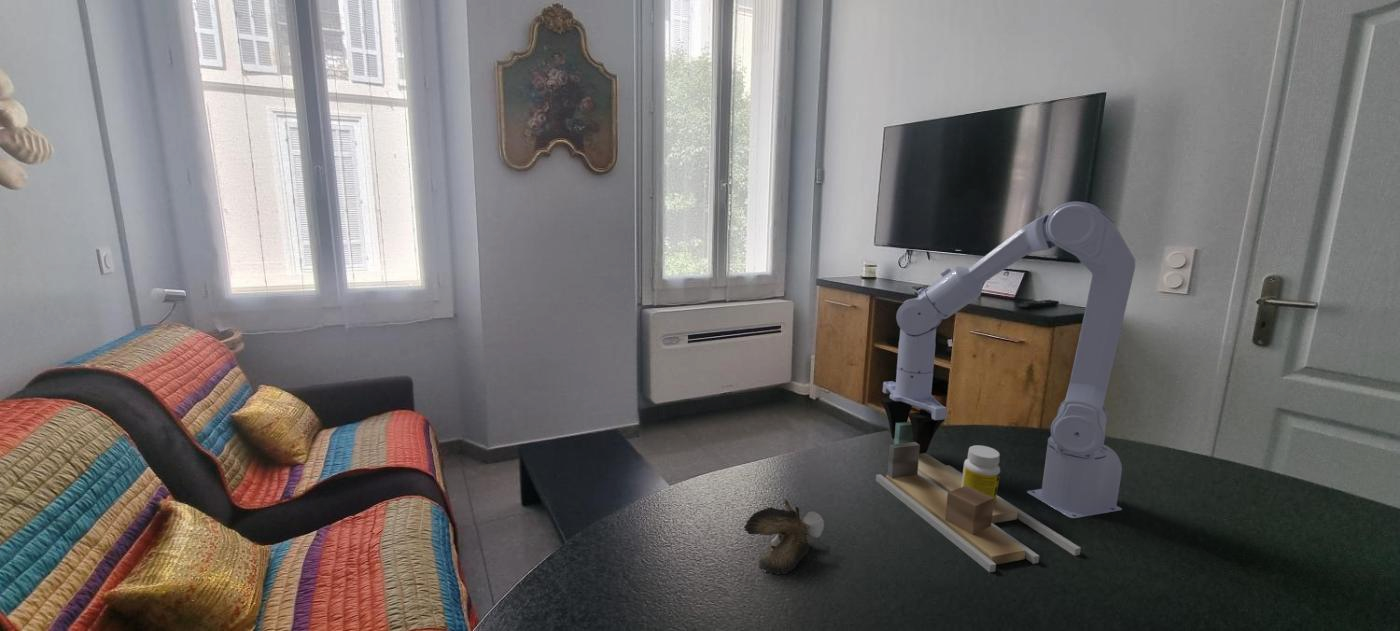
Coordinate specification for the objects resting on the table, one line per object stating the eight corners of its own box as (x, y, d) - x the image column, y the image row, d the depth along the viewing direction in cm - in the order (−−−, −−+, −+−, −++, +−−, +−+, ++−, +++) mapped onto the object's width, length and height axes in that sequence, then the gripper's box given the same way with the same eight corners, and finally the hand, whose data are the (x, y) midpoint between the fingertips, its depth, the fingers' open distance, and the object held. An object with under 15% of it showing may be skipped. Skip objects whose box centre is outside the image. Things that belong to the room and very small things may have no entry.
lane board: (948, 473, 94) (949, 465, 94) (1079, 558, 71) (1080, 547, 71) (875, 483, 91) (876, 474, 90) (989, 576, 68) (990, 565, 68)
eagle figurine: (768, 517, 78) (730, 534, 71) (799, 483, 76) (763, 497, 68) (805, 566, 74) (770, 588, 67) (840, 531, 72) (806, 551, 65)
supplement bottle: (999, 515, 81) (1007, 461, 79) (963, 511, 81) (971, 457, 79) (989, 497, 85) (996, 445, 83) (955, 493, 86) (962, 442, 84)
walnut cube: (963, 512, 79) (966, 485, 78) (991, 526, 75) (994, 498, 75) (945, 520, 77) (947, 492, 76) (972, 534, 73) (975, 505, 73)
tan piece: (917, 454, 100) (919, 420, 99) (1016, 519, 79) (1021, 477, 78) (892, 457, 99) (894, 423, 98) (987, 524, 78) (991, 482, 77)
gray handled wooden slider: (913, 478, 91) (916, 441, 90) (1024, 559, 70) (1030, 512, 69) (885, 482, 90) (888, 445, 89) (991, 565, 69) (996, 518, 68)
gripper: (869, 359, 101) (865, 431, 104) (922, 383, 88) (915, 465, 90) (904, 356, 103) (898, 428, 106) (960, 379, 90) (952, 461, 92)
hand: (908, 445), depth 98 cm, fingers open, 6 cm apart
